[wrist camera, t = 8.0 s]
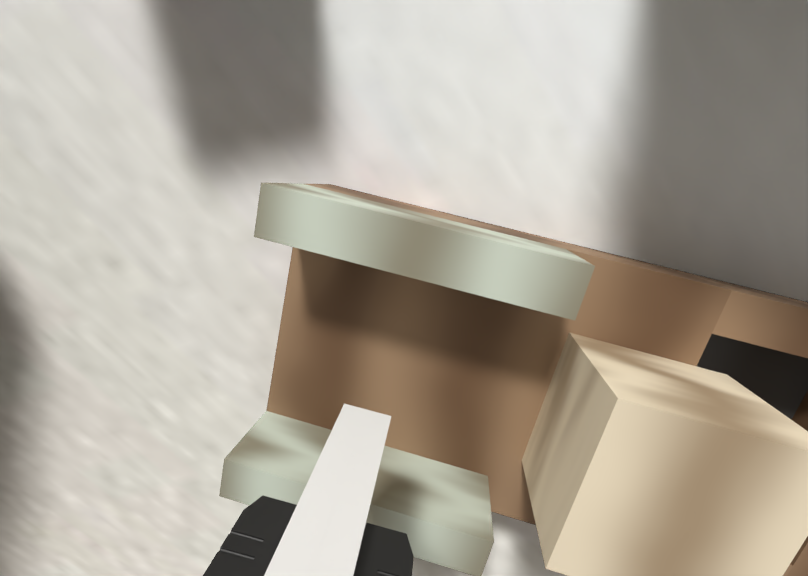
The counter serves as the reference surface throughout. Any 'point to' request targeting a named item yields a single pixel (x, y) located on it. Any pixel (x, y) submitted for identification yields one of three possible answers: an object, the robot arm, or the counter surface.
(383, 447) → the robot arm
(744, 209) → the counter surface
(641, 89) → the counter surface
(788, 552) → the birch block
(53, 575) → the counter surface
